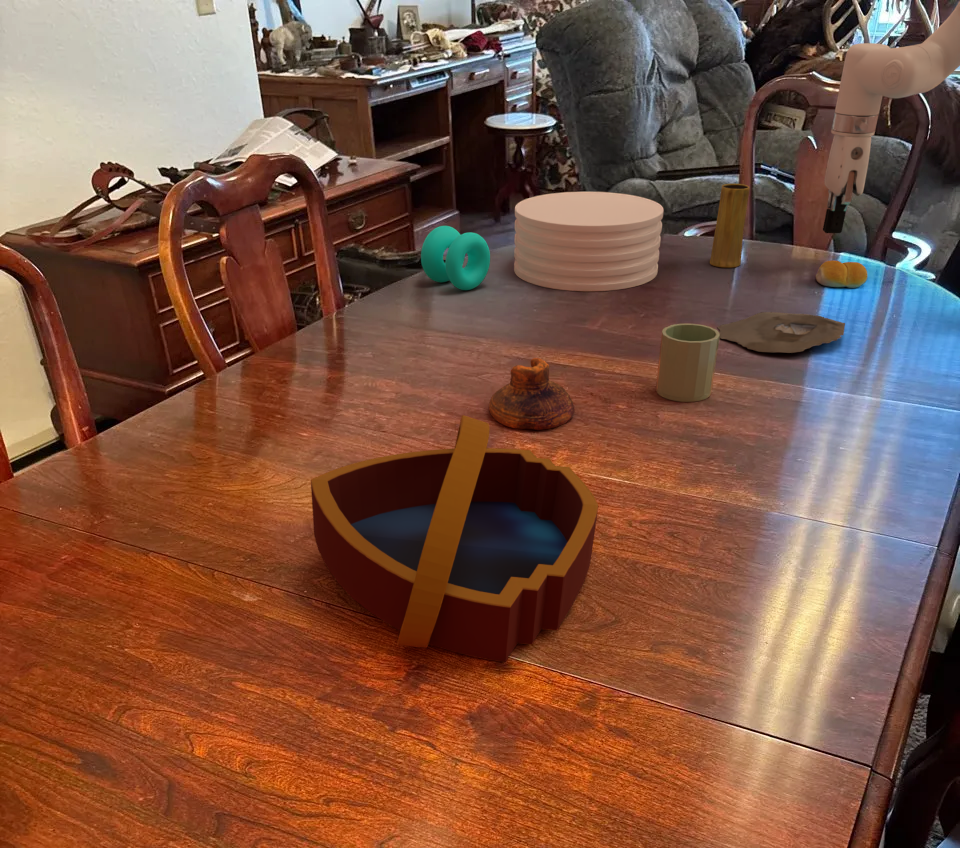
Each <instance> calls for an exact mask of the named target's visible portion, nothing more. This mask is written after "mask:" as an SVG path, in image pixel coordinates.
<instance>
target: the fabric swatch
mask: <svg viewBox="0 0 960 848" xmlns="http://www.w3.org/2000/svg"><path fill="white" fill-rule="evenodd" d="M845 327H846V322H842V321H839V320H834V319H831V318H828V317H825V316H821V315H815V314H814V315H813V314H808V313H789V312H779V311H778V312H777V311H761V312H758V313H755V314H754V315H751V316H749V317H747V318H743V319H740V320H737V321H731V322H729V323H724V324H721V325H719V326H717V327H716V329H718V332H719V334H720V338H719V339H721V340H726V341H730V342H735V343H737V345H741V346H742V347H743V348H747V349H748V350H753V351H755V352H759V353H787V354H790V353H791V354H793V353H794V354H795V353H801V352H804V351H805V350H807V349H810V348H812V347H815V346H816V347H817V346H821V345H822V344H830V343H831V342H837V341H838V339H841V338H843V336H844V335H845Z"/></svg>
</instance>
